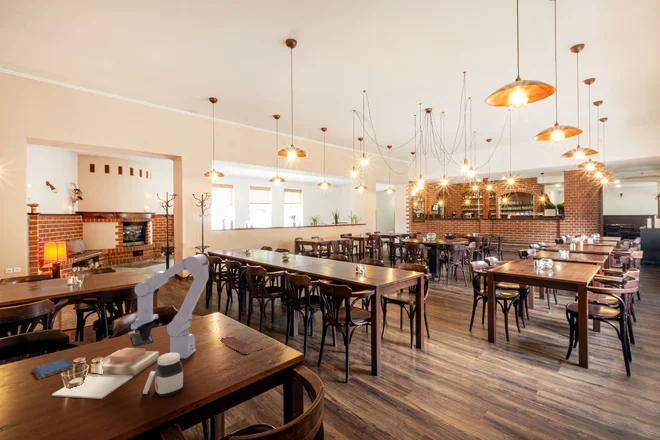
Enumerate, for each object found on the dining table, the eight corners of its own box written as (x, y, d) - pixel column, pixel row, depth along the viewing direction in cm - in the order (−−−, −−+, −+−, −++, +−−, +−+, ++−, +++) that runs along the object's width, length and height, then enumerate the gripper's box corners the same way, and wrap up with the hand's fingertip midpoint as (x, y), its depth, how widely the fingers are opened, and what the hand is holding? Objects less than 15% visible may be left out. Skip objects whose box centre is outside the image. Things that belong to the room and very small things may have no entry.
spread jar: (186, 392, 105) (186, 358, 105) (148, 406, 97) (148, 369, 97) (174, 379, 114) (174, 347, 114) (138, 391, 106) (138, 357, 106)
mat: (132, 377, 115) (132, 375, 115) (101, 398, 101) (101, 397, 101) (88, 374, 117) (88, 373, 117) (51, 395, 103) (51, 394, 103)
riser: (159, 358, 130) (159, 351, 130) (134, 375, 116) (134, 367, 116) (119, 357, 132) (119, 350, 132) (90, 373, 118) (90, 365, 118)
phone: (148, 331, 159) (153, 340, 148) (148, 333, 159) (153, 342, 148) (130, 335, 154) (134, 344, 143) (130, 337, 154) (134, 347, 143)
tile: (145, 353, 128) (145, 348, 128) (131, 362, 120) (131, 357, 120) (125, 352, 129) (125, 347, 129) (110, 361, 121) (110, 356, 121)
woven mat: (30, 372, 119) (30, 367, 119) (66, 362, 128) (66, 357, 128) (37, 381, 113) (37, 375, 113) (73, 370, 122) (73, 364, 122)
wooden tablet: (264, 350, 140) (264, 346, 140) (244, 357, 133) (244, 353, 133) (233, 335, 158) (233, 331, 158) (214, 340, 151) (214, 337, 151)
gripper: (148, 304, 142) (147, 333, 142) (124, 313, 128) (124, 346, 128) (162, 304, 142) (162, 334, 142) (140, 314, 127) (140, 347, 127)
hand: (145, 340), depth 135 cm, fingers closed
